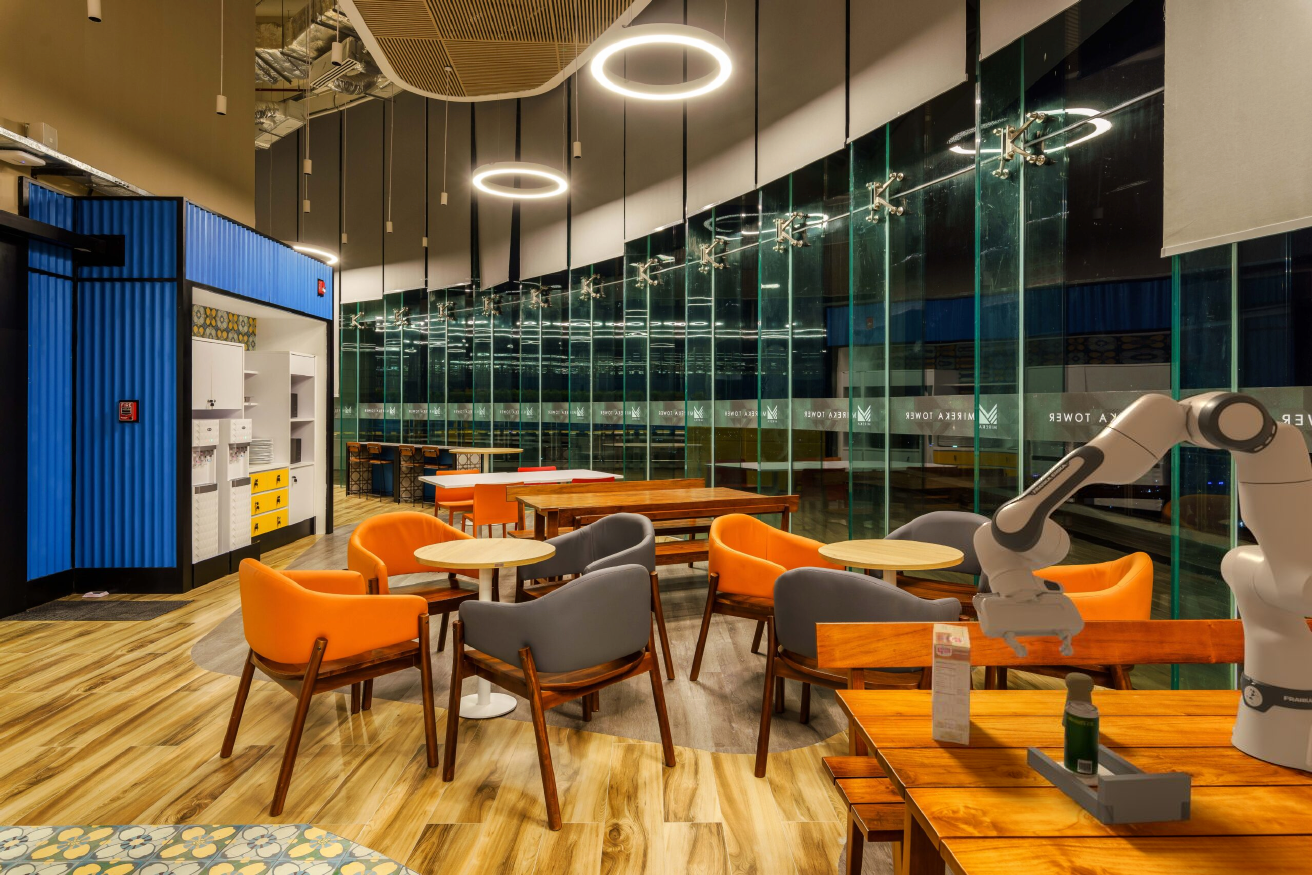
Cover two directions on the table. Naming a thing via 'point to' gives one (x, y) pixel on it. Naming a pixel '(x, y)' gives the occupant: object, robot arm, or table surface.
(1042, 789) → the table surface
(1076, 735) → the beer can
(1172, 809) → the bay
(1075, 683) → the cork
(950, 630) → the coffeecake box
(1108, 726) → the table surface
